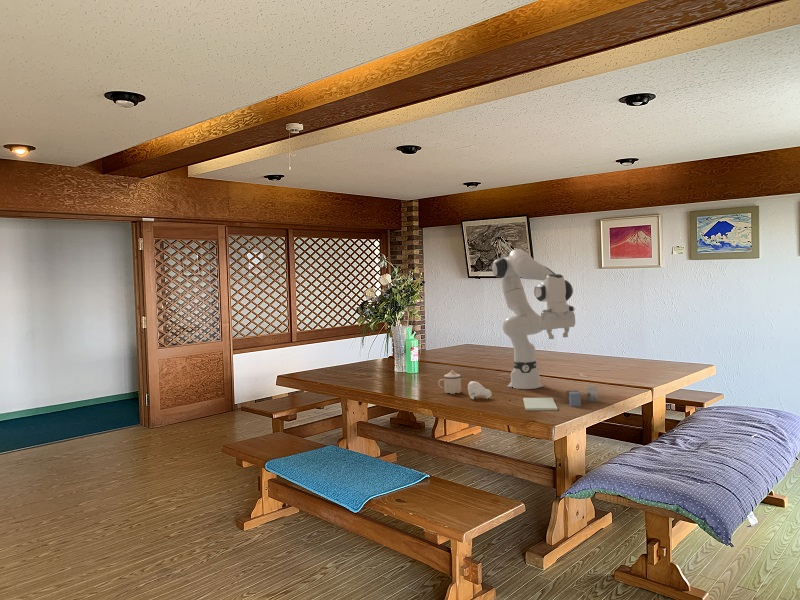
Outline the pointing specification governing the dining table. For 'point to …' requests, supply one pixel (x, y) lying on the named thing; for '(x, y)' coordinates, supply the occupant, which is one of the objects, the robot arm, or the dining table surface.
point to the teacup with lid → (451, 383)
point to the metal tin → (592, 393)
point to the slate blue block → (575, 398)
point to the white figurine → (478, 390)
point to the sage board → (539, 404)
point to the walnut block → (568, 395)
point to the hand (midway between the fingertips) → (558, 338)
